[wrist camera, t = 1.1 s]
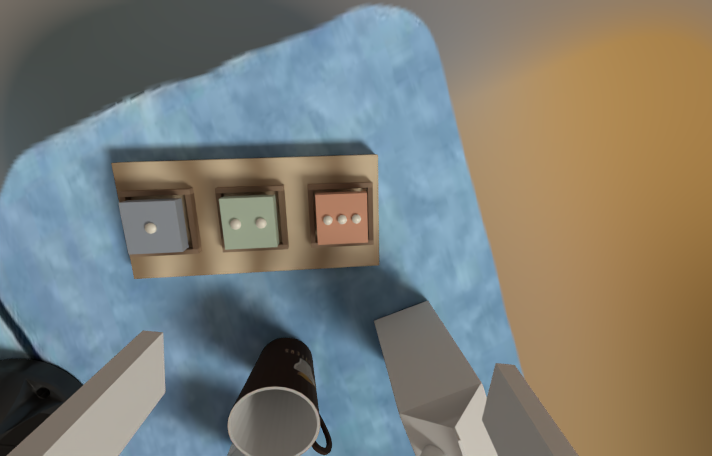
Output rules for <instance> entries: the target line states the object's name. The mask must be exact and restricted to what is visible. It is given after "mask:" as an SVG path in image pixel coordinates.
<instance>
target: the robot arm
mask: <svg viewBox="0 0 712 456" xmlns="http://www.w3.org/2000/svg"><path fill="white" fill-rule="evenodd" d="M164 393H165V370H164V345H163V332H152V331H142V332H141V333H140V334H139V335H138V336H136V337H135V338H134V339H133V340H132V341H131V342H130V343H129V344H128V345H127V346H126V347H124V348H123V349H122V350H121V351H120V352H119V353H118V354H117V355H116V356H115V357H114V358H112V359H111V360H110V361H109V362H108V363H107V364H106V365H105V366H104V367H103V368H102V369H100V370H99V371H98V372H97V373H96V374H95V375H94V376H93V377H92V378H91V379H90V380H89V381H87V382H86V383H85V384H84V385H83V386H82V385H81V384H80V383H79V382H78V381H77V380H76V379H75V378H74V377H72V376H71V375H70V374H68V373H66V372H65V371H63V370H61V369H59V368H57V367H55V366H53V365H50V364H47V363H44V362H41V361H36V360H31V359H17V358H16V359H4V360H0V456H119V454H120V453H121V452H122V450H123V449H124V448H125V446H126V445H127V443H128V442H129V441H130V439H131V438H132V437H133V435H134V434H135V433H136V431H137V430H138V429H139V427H140V426H141V425H142V423H143V422H144V420H145V419H146V418H147V416H148V415H149V414H150V412H151V411H152V410H153V408H154V407H155V406H156V404H157V403H158V402H159V400H160V399H161V397H162V396H163V395H164ZM482 421H483V424H484V426H485V428H486V430H487V432H488V435H489V437H490V439H491V441H492V444H493V446H494V448H495V450H496V452H497V455H498V456H578V455H577V453H576V452H575V450H574V449H573V447H572V446H571V445H570V443H569V442H568V440H567V439H566V438H565V436H564V435H563V433H562V432H561V431H560V429H559V428H558V426H557V425H556V423H555V422H554V421H553V419H552V418H551V416H550V415H549V413H548V412H547V410H546V409H545V408H544V406H543V405H542V404H541V402H540V401H539V399H538V398H537V396H536V395H535V393H534V392H533V391H532V389H531V388H530V386H529V385H528V383H527V382H526V381H525V379H524V378H523V376H522V375H521V374H520V372H519V371H518V369H517V368H516V366H515V365H509V364H498V363H496V364H495V368H494V372H493V376H492V380H491V384H490V388H489V392H488V396H487V400H486V404H485V408H484V412H483V416H482Z"/></svg>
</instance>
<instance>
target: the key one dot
mask: <svg viewBox="0 0 712 456" xmlns="http://www.w3.org/2000/svg"><path fill="white" fill-rule="evenodd" d="M118 204H119V209H120V214H121V219H122V224H123V229H124V234H125V239H126V244H127V249H128V254H129V255H131V254H150V253H170V252H183V251H185V250H186V249H187V248H189V245H188V239H187V232H186V226H185V219H184V212H183V206H182V199H181V198H172V199H147V200H127V201H123V202H120V203H118Z"/></svg>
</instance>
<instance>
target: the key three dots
mask: <svg viewBox="0 0 712 456" xmlns="http://www.w3.org/2000/svg"><path fill="white" fill-rule="evenodd" d="M315 201H316V218H317V236H318V245H328V244H348V243H368V219H367V192H366V191H352V192H326V193H316V194H315Z"/></svg>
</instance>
